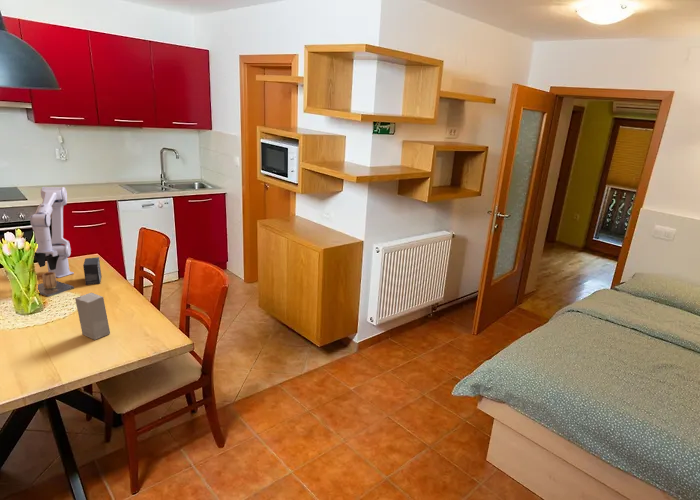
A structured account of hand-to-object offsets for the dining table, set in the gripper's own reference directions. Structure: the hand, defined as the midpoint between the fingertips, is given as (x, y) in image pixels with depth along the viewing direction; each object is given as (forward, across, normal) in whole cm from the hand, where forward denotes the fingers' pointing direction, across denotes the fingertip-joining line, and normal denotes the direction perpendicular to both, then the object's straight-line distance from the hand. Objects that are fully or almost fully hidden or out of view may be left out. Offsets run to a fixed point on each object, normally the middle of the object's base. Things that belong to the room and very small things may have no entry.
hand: (47, 267), depth 204 cm
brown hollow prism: (+8, +2, -1) cm, 8 cm away
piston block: (+10, +2, -1) cm, 10 cm away
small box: (+10, +8, +16) cm, 21 cm away
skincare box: (+10, +57, -19) cm, 61 cm away
